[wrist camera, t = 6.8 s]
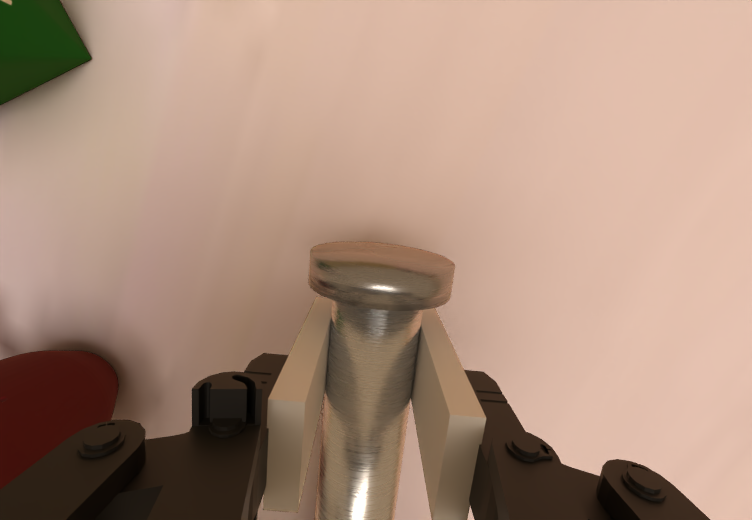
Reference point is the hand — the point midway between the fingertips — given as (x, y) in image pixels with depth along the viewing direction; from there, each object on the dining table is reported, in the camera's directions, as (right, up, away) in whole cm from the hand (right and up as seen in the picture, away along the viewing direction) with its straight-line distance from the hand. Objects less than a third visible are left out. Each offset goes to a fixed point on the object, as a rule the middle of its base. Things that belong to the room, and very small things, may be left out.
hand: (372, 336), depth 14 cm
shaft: (-1, -9, +3) cm, 10 cm away
